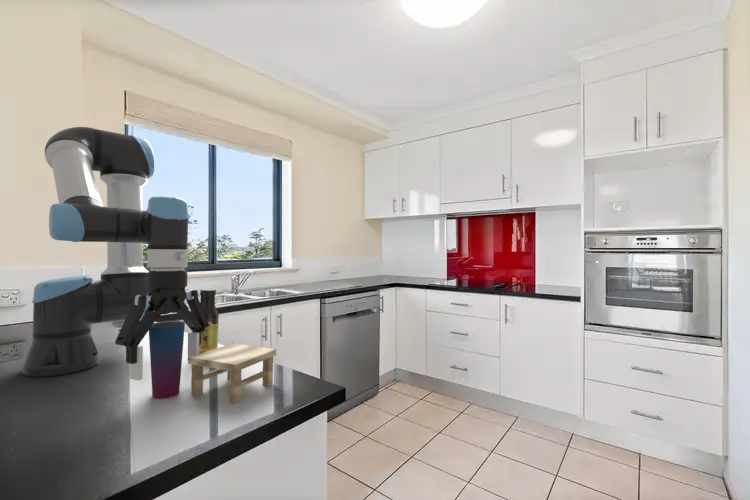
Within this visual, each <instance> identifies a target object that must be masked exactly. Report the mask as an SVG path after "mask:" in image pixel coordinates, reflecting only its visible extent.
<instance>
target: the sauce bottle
mask: <svg viewBox="0 0 750 500" xmlns="http://www.w3.org/2000/svg"><path fill="white" fill-rule="evenodd" d="M199 294H200V300H199V302H200V304H201V307H202V309H203V311H204V314H205V316H206V318H207V321H208V323H209V326H208V327H207V328H205V331H204V332H201V345H199V354H200V353H203V352H207V351H210V350H213V349H216V348H218V342H219V341H218V340H219V318H220V317H219V311H218V309H217V308H216V294H217V290H216V289H215V288H202V289H200V291H199Z"/></svg>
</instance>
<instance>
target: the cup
mask: <svg viewBox="0 0 750 500" xmlns="http://www.w3.org/2000/svg"><path fill="white" fill-rule="evenodd" d="M185 327H186V323H185V322H184V321H183V320H182V321H180V320H169V321H168V320H167V321H166V320H164V321H158V322H154V323H153V325H152V326H151V328H150V329H149V331H148V340H149V357H150V358H149V360H150V376H151V379H150V380H151V392H152V395H151V396H152V398H154V399H168V398H173V397H175V396H178V395H179V393H180V388H181V387H180V386H181V374H182V365H183V364H182V363H183V353H184V352H183V350H184V341H185V340H184V338H185ZM172 396H173V397H172Z"/></svg>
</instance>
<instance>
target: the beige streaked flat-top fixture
mask: <svg viewBox="0 0 750 500" xmlns="http://www.w3.org/2000/svg"><path fill="white" fill-rule="evenodd" d="M276 356H277V349H276V348H271V347H262V346H255V345H247V344H239V343H230V344H227V345H224V346H220V347H217V348H216V349H213V350H210V351H207V352H203V353H200V354H197V355H194V356H190V357H188V356H187V364H189V365H191V380H190V381H191V385H190V386H191V387H190V388H191V390H190V391H191V392H190V393H191V395H193V396H199V395H201V394H203V393H204V381H206V380H208V379H211V378H213V377H215V376H217V375H220V374H223V373H225V372H227V376H226V377H227V380H229V382H228V383H229V385H228V386H229V387H228V391H229V392H228V394H229V395H228V396H229V397H228V402H229V403H231V404H237V403H239V402H241V401H242V388H243V387H245V386H247V385H249V384H251V383H253V382H255V381H257V380H259V379H262V386H264V387H270V386H272V385H273V384H274V383H273V382H274V357H276ZM260 362H262V371H259V372H257V373H254V374H252V375H251V376H248V377H246V378H243V379H242V370H243V369H246V368H249V367H251V366H253V365H256V364H259V363H260ZM204 367H205V368H210V369H211V368H212V369H214V370H211V371H208V372H205V373H204Z"/></svg>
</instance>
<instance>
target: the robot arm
mask: <svg viewBox="0 0 750 500" xmlns="http://www.w3.org/2000/svg"><path fill="white" fill-rule="evenodd" d="M44 157H45V160H46V163H47V165H48V166H49V167H50V168H51V169H52V173H53V178H54V185H55V188H56V194H57V201H58V203H54V204H52V205H51V206H50V208H49V214H48V226H49V227H48V229H49V236H50V238H52V239H53V240H55V241H61V242H62V241H65V242H72V243H79V242H81V243H82V242H85V243H91V242H93V243H107V244H106V246H107V249H106V251H107V252H106V253H107V254H106V255H107V256H106V257H107V258H106V259H107V260H106V261H107V267H106V268H105V270H103V271H102V272H101V273H100V280H99V279H98V280H93V279H94V278H93V277H92V276H91V275H79V276H78V275H77V276H69V277H61V278H55V279H48V280H44V281H40V282H39V283H37V284H36V285H35V287H33V298H32V300H31V303H32V305H33V308H32V309H33V310H32V341H31V344H30V346H29V349H28V351H27V353H26V355H25V358H24V360H23V362H22V373H21V374H22V375H23V376H26V377H34V378H35V377H36V378H39V377H42V378H43V377H54V376H61V375H66V374H71V373H77V372H81V371H84V370H87V369H90V368H93V367H95V366H97V365H98V364H99V362H100V354H99V351H98V348H97V346H96V344H95V343H96V342H95V341H94V339H93V337H92V325H93V324H94V325H95V324H102V323H104V324H105V323H112V322H123V323H122V325H121V328H120V330H119V333H118V335H117V337H116V339H115V340H114V343H115V345H118V346H123V347H125V349H126V350H125V362H126V364H129V372H128V374H129V380H133V381H134V380H135V381H141V380H143V378H144V377H143V367H144V366H143V365H144V364H143V363H144V362H143V361H144V358H143V357H144V346H143V345H140V344H141V342H142V341H143V339H144V338H145V336H146V335H147V333H149V329H150V328H151V326H152V325H153V323H156V320H157V319H158V318H160V317H161V316H162V315H168V314H171V313H172V314H175V313H176V314H177V315H178V316H179V317H180V318H181V320H182V322H185V326H187V327H188V328H189V330H190V331H189V332H187V358H188V357H190V356H194V355H197V354H199V345H201V332H204V331H205V328H207V327H208V326H209V323H208V321H207V318H206V316H205V314H204V311H203V309H202V307H201V304H200V300H199V291H198V290H197V289H186V288H187V286H188V271H187V270H185V269H186V268H188V241H189V240H188V239H189V237H188V233H189V231H188V229H189V227H188V226H189V217H190V215H189V209H188V208H189V206H188V202H187V201H186V200H185V199H184V198H181V197H174V196H163V195H162V196H159V195H158V196H152V197H150V198H149V199H148V203H147V208H146V209H143V187H144V186H146V185H147V184H148V182H149V179H151V178H153V177H154V175H155V171H156V170H155V167H156V160H155V154H154V150H153V147H152V145H151V144H150V142H149V141H148V140H147V139H145V138H140V137H137V136H134V135H133V134H132V135H131V134H122V133H118V132H113V131H109V130H103V129H98V128H93V127H88V126H74V127H73V126H72V127H69V128H65V129H62V130H61V131H58V132H56V133H55V134H53V135H52V136H51V137H49V139H48V140H47V142H46V144H45V146H44ZM94 172H98V173H99V178H100V180H101V181H102V182H103V183H104V184H105V185H106V206H104V204H103V201H102V197H101V194H100V191H99V188H98V185H97V182H96V178H95V174H94ZM144 244H146V245H147V255H146V256H147V257H146V263H147V264H146V267H147V269H149V270H147V269H146V268H145V266H144V251H143V250H144ZM185 300H186V303H187V304H186V303H185Z"/></svg>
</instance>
